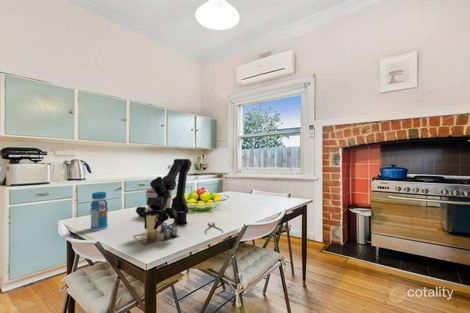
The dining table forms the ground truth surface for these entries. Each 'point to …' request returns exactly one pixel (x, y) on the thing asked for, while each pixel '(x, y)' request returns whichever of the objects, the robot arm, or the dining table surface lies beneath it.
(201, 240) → the dining table surface
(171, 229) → the spacer posts
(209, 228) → the pliers
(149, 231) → the disc
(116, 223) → the dining table surface
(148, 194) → the canister
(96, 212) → the beverage bottle
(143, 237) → the walnut board
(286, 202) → the dining table surface
